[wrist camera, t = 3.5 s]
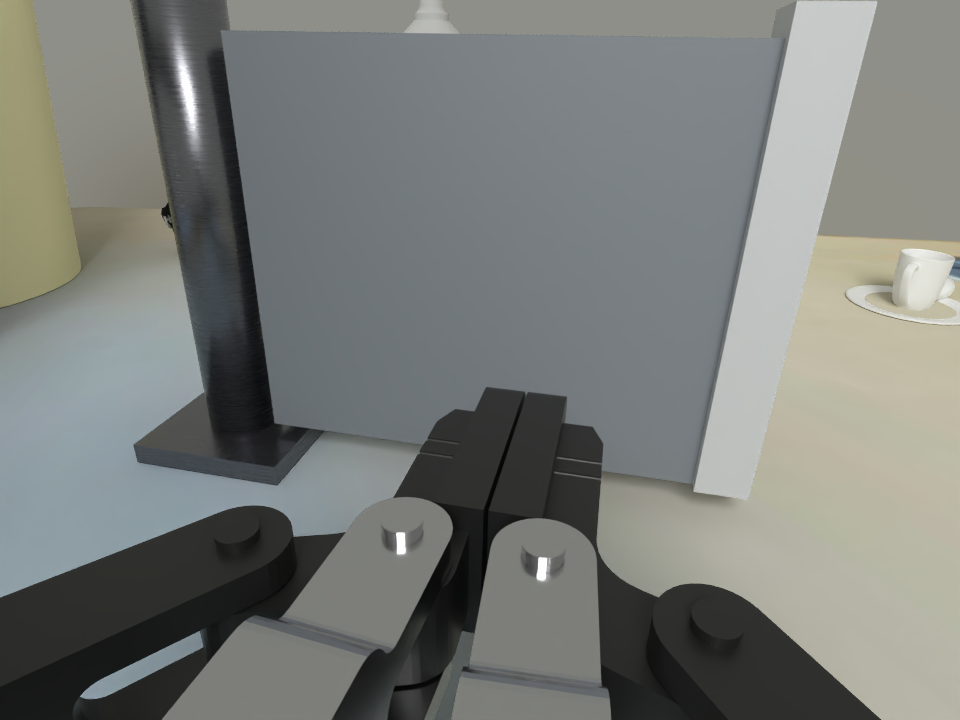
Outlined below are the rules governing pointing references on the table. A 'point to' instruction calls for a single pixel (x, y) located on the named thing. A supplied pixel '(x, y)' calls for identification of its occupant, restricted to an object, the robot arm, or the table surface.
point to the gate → (542, 226)
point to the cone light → (30, 168)
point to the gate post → (210, 253)
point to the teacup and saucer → (915, 286)
